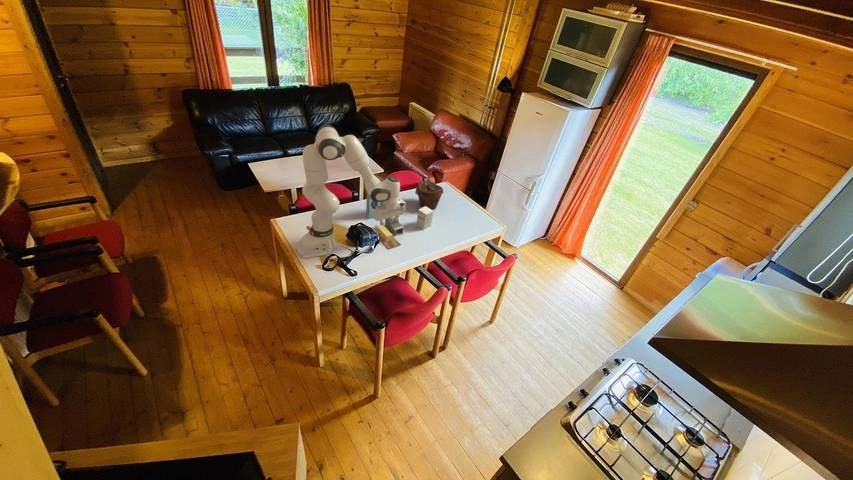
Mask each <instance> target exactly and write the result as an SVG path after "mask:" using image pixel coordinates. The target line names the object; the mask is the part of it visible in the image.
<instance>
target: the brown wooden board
mask: <svg viewBox="0 0 853 480" xmlns="http://www.w3.org/2000/svg"><path fill="white" fill-rule="evenodd" d="M377 234H378V236H379V239H378V240H379V241H380V242H381V243H382V244H383V245H384V246H385V248H386V249H387V250H390V249H395V248H396V247H400V246H401V245H402V244H401V243H400V242H399V241H398V240H397V239H396V238H395V236H393V235H392V240H390V241H387V242H386V241H385V239H384V238H383V237H382V236H381V235H380V234H379V233H378V232H377Z"/></svg>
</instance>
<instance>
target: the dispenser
mask: <svg viewBox="0 0 853 480" xmlns="http://www.w3.org/2000/svg"><path fill="white" fill-rule="evenodd" d="M394 218H395V217H391V218H387V219H384V227H385V228H386V229H387V230H388V231H389V232H390V233H391V234H392V236H393V237H396V236H397V235H396V234H397V231H398V232H399V233H400V234H401V235H403V234H404V226H403V224H401V223H400V222H399V221H400V220H399V218H398V219H397V221H395V222H394V221H393V219H394Z"/></svg>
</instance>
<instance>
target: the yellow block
mask: <svg viewBox="0 0 853 480" xmlns="http://www.w3.org/2000/svg"><path fill="white" fill-rule="evenodd" d="M376 233H377V234H378V233H379V234H380V235H381V236H382V237H383V238H384V239H385V241H386V242H387V241H390V240H392V236H393V234H392V233H391V232H390V231H389V230H388V229H387V228H386V227H385V225H381V224H379V225H378V226H376Z"/></svg>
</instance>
